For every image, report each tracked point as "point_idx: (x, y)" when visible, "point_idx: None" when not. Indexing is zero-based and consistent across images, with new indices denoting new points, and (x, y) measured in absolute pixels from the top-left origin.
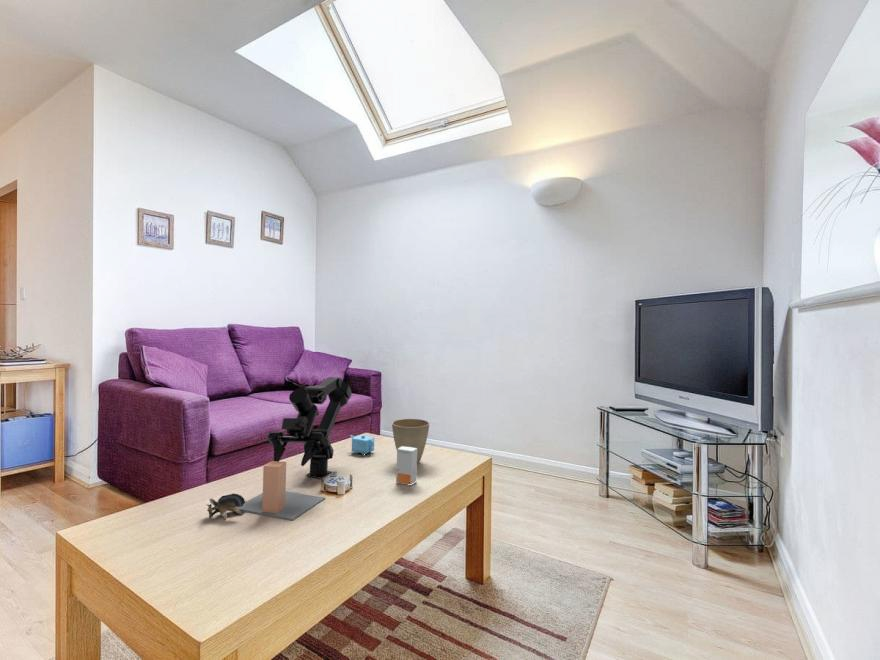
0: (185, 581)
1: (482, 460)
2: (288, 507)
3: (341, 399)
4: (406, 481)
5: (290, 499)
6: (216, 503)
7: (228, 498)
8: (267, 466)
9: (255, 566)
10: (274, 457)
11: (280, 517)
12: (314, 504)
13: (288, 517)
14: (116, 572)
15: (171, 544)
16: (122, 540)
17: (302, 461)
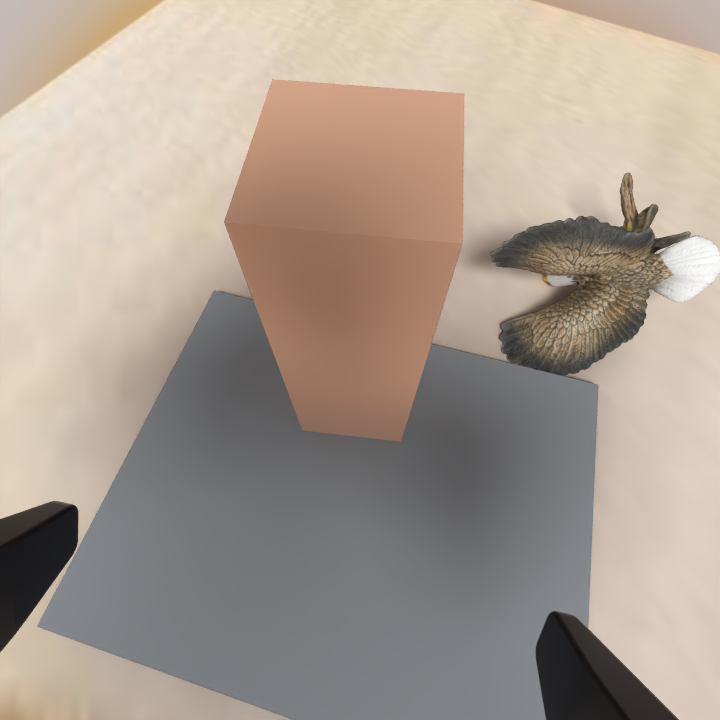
0: (404, 9)
1: None
2: (277, 420)
3: None
4: None
5: (304, 555)
6: (653, 255)
7: (608, 251)
8: (410, 93)
9: (258, 53)
10: (654, 705)
11: None
12: (116, 482)
13: (241, 303)
14: (601, 23)
15: (589, 118)
16: None
17: (18, 518)
